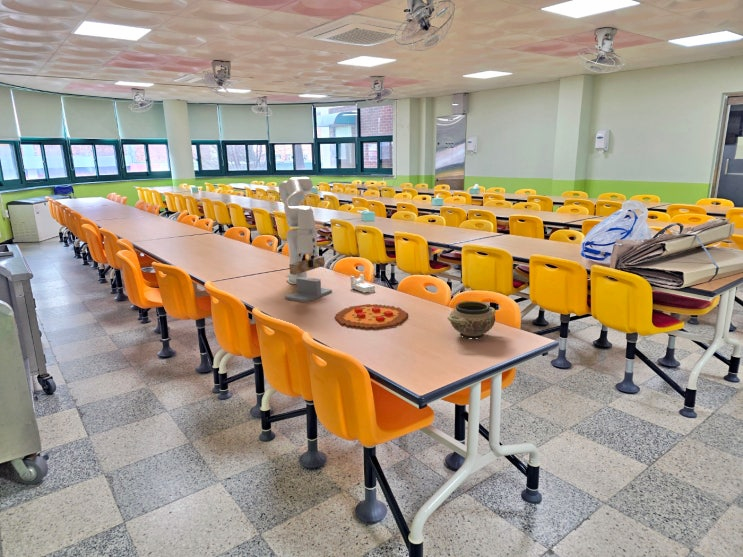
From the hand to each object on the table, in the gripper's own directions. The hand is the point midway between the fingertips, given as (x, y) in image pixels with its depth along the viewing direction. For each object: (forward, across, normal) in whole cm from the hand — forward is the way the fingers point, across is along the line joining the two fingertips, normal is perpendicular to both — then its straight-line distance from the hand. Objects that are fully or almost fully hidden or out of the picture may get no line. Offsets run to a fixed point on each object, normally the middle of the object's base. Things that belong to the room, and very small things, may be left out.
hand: (307, 266), depth 254 cm
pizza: (+17, -48, +14) cm, 53 cm away
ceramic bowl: (+17, -96, +14) cm, 98 cm away
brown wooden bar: (+2, 0, 0) cm, 2 cm away
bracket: (+16, -19, -23) cm, 34 cm away
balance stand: (+16, 0, 0) cm, 16 cm away
